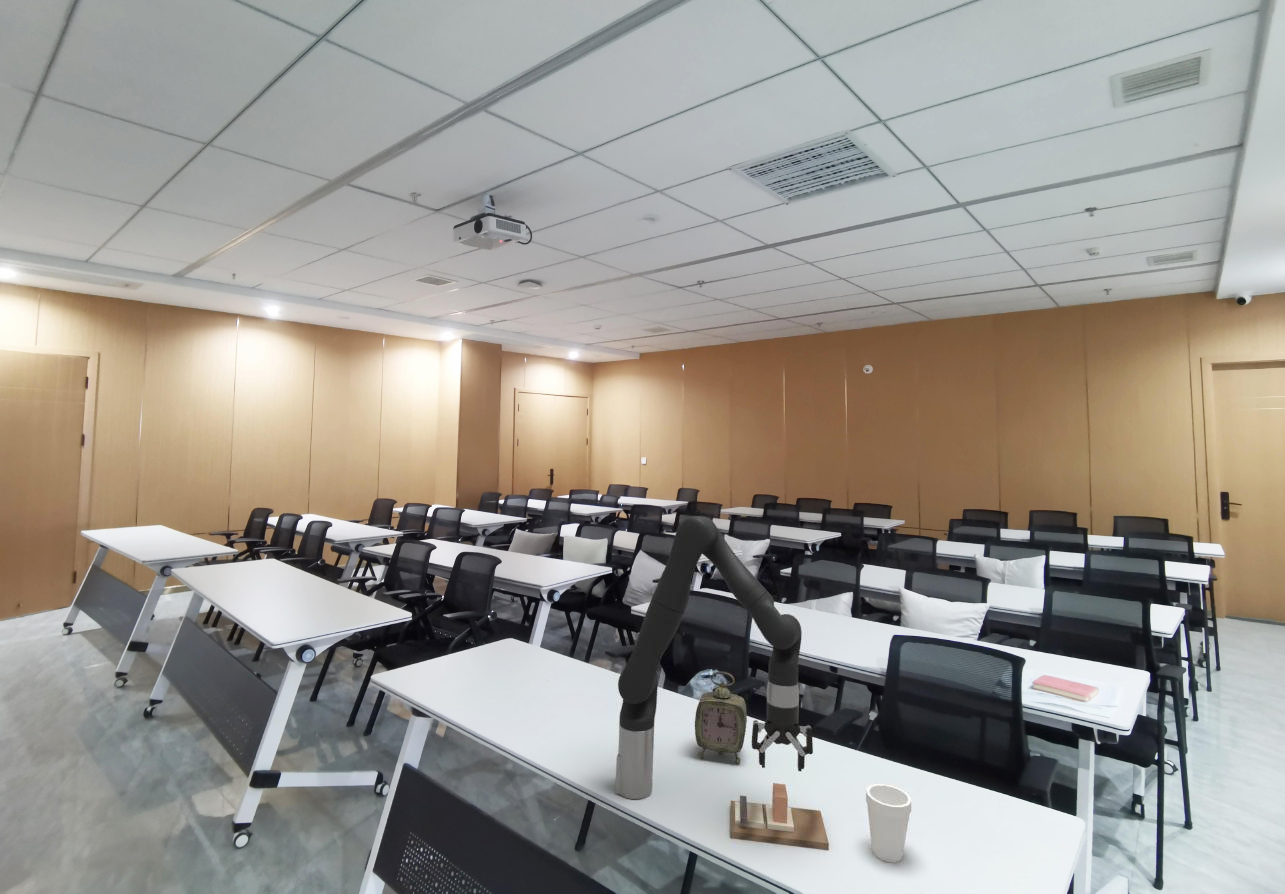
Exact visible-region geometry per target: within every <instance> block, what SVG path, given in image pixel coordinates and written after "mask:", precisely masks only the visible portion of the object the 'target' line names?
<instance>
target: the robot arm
mask: <svg viewBox="0 0 1285 894" xmlns="http://www.w3.org/2000/svg"><path fill="white" fill-rule="evenodd" d="M672 542H673V543H672V547H671V548H670V549H671V550H670V551H669V552H670V553H669V556H668V559H667V562H666V565H665V567H664V569H663V572H662V574H661V576H660V578H659V580H658V582H657V585H656V587H655V590H654V592H653V594H652V597H651V600H650V602H649V604H648V607H647V609H646V613H645V615H644V617H643V620H642V621H643V622H642V624H641V627H640V630H639V634H638V637H637V639H636V640H637V641H636V644H635V646H634V648H633V651H632V653H631V655H630V657H629V659H628V660H627V663H626V665H625V666H624V669H623V670H622V672H621V673H620V675H619V677H618V680H617V681H618V682H617V689H618V693H619V695H620V697H621V698H622V705H621V708H620V712H619V724H618V751H617V756H616V766H615V767H616V768H615V795H620V796H621V797H623V798H626V799H630V800H641V799H645V798H648V797H649V796H650V795H651V794H652V792H653V775H654V774H653V773H654V741H655V739H654V738H655V718H656V714H657V713H656V712H657V706H658V705H657V703H658V689H659V688H658V687H659V685H658V684H659V681H658V679H659V678H658V673H657V671H658V668H659V664H660V662H661V660H662V657H663V656H664V654H665V652H666V650H667V649H668V647H669V645H670V644H671V642H672V640H673V638H674V637H675V634H676V633H677V630H678V629H679V627H680V625H681V623H682V619H684V618H683V617H684V616H685V613H686V610H687V606H688V604H689V599H690V592H691V584H692V578H693V575H694V574H693V573H694V571H695V569H696V566H697V565H698V562H700V561H699V560H700V559H701V556H702V555H703V556H704V557H706V558H707V559H708V560H709V561H710V562H711V564H713V565H714V567H715V568H716V570H717V571H718V572H719V574H720V575H721V577H722V578H723V580H724V582H725V584H726V586H727V587H728V589H729V591H730V592H731V594H732V595H733V596H734V598H735V599H736V600H737V602H739V603H740V605H741V606H742V608H743V609H744V610H745V611H746V612H747V613H748V614H749V615H750V617H751V618H752V619H753V621H754V623H755V624H756V627H757V628H758V630H759V632H760V633H761V634H762V636H763V638H764V639H765V641H767V643H769V645H771V646H772V651H771V655H770V657H769V660H768V673H767V674H768V675H767V687H766V694H765V695H766V713H765V714H766V716H765V719H766V720H765V722H759V721H758V720H756V719H755V720H753V722H752V732H751V733H752V734H751V748H752V749H753V750H756V751H758V764H759V765H760V766H761V768H763V769H765V768H766V751H767V749H768V748H769V747H770V746H771V745H772V744H773V743H775V745H782V744H783V745H785V746H789V745H790V744H792V747H793V748H794V749H795V750H796V751H797V771H798V772H802V770H804V768H805V761H806V760H805V758H806V757H805V756H806V755H812V754H813V753H814V748H813V747H814V744H813V730H812V727H811V725H810V724H806V725H805V726H803V725H799V715H800V714H799V707H800V704H799V703H800V702H799V701H800V691H799V659H800V658H799V657H800V651H801V644H802V637H803V636H802V633H803V632H802V626H801V624H800V622H799V620H798V619H797V618H796V617H795V616H794V615H792V614H788V613H786V614H785V613H783V614H781V613H780V612H779V610H778V609H777V607H775V599H774V598H773V596H772V595H771V594H770V592H769V591H768V590H767V589H766V588H765V587H764V586H763V585H762V583H761V582H760V581H759V580H758V579H757V578H756V577H755V576H754V574H752V573H751V571H750V570H749V569H748V568H747V567H746V566H745V564H744V563H743V562H742V560H740V558H739V557H738V556H737V554H736V553H735V552H734V550H733V549H732V548H731V546H730V545H729V544H728V542H727V541H726V539H725V537H724V536H723V535H722V532H721V531H720V529H719V528H718V526H717V525H716V524H715V522H714V521H713V520H712V519H711V518H709V517H707V516H702V515H698V516H696V515H694V516H693V515H692V516H689V517H686V518H684V519H683V520H682V521H681V522H680V523H679V525H678V526H677V529H676V530H675V536H674V539H673V541H672ZM762 730H765V732H766V735H764V737H763V739H762V740H761V742H758V739H759V734H760V733H762ZM800 733H802V735H803V737H805V742H806V743H805V745H806V746H805V745H804V746H803V745H802V743H801V742H800V741H799V738H798V736H799V735H800Z"/></svg>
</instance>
